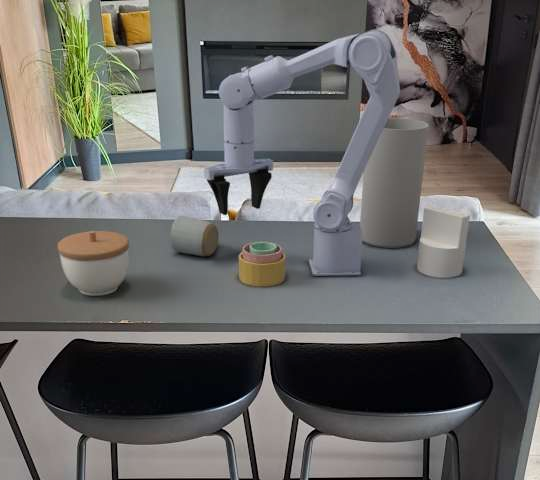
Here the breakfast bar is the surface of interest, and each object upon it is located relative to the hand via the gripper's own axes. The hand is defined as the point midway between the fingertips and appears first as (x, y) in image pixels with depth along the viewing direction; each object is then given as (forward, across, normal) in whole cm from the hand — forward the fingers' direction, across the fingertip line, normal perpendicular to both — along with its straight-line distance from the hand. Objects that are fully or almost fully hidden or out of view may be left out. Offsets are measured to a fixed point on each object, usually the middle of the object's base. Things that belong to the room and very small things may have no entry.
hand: (239, 210), depth 142 cm
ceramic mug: (+11, +5, -9) cm, 15 cm away
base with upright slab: (+11, -31, +26) cm, 42 cm away
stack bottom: (+10, +2, +11) cm, 15 cm away
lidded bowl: (+11, +30, -1) cm, 32 cm away
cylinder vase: (+11, -34, +7) cm, 36 cm away
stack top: (+10, +2, +11) cm, 15 cm away
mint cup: (+10, +1, +11) cm, 14 cm away
